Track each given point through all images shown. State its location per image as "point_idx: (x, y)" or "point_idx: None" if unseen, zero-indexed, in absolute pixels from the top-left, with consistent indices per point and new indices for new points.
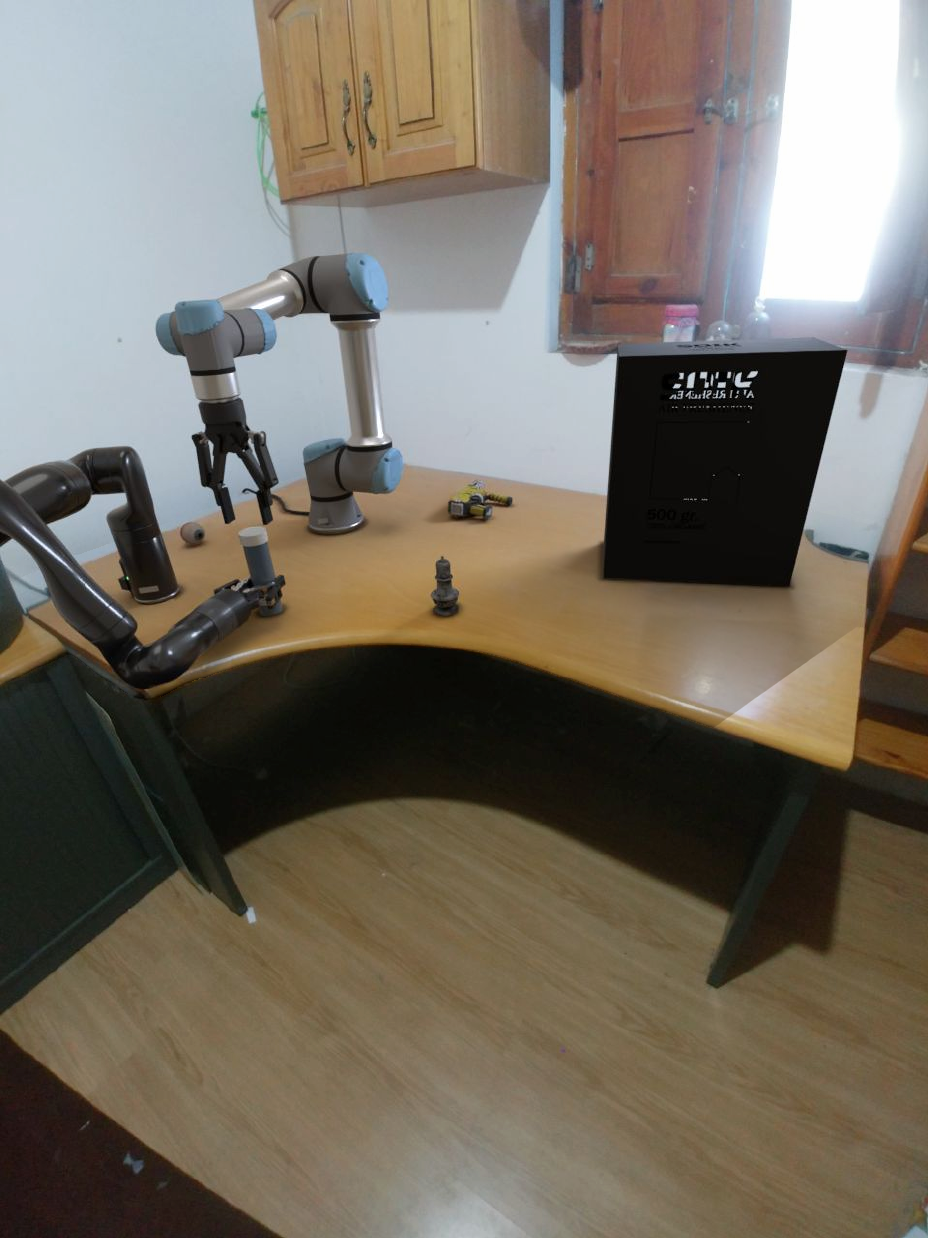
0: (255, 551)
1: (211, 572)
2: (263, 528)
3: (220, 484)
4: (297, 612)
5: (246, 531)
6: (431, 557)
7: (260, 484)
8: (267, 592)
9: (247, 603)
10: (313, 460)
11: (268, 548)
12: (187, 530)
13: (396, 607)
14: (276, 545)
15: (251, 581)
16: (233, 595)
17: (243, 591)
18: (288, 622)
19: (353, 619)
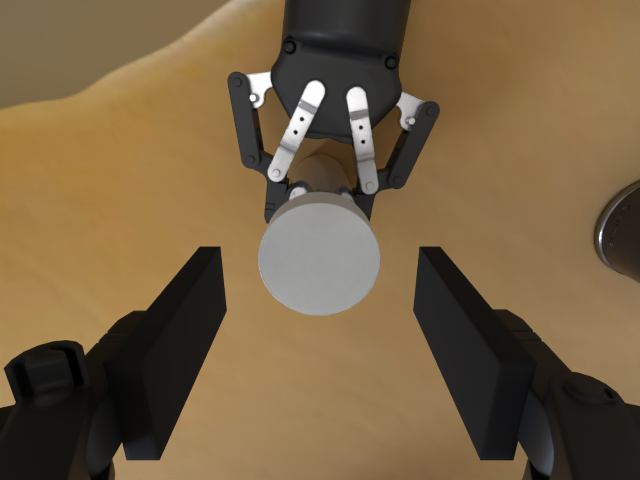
0: (297, 195)
1: (552, 339)
2: (282, 295)
3: (541, 460)
4: (252, 181)
5: (345, 259)
6: None
7: (30, 425)
8: (300, 169)
9: (283, 32)
10: None
11: None
12: None
13: (34, 227)
14: (449, 461)
15: (355, 193)
16: (313, 5)
17: (322, 87)
18: None
19: (101, 164)
